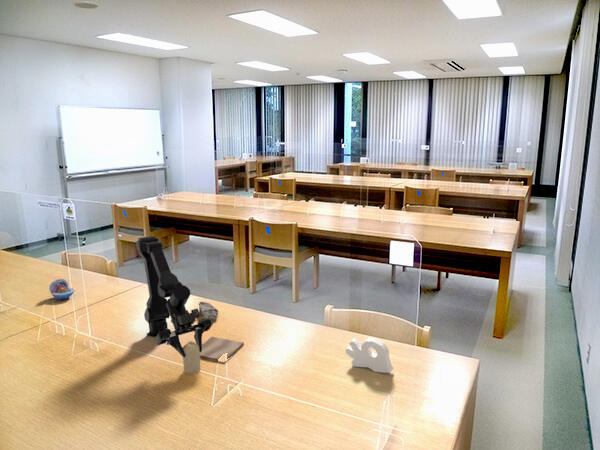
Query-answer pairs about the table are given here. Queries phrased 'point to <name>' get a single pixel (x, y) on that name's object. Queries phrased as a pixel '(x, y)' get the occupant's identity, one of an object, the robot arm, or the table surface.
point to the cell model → (60, 289)
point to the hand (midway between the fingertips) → (192, 354)
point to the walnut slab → (219, 348)
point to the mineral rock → (207, 311)
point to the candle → (191, 358)
